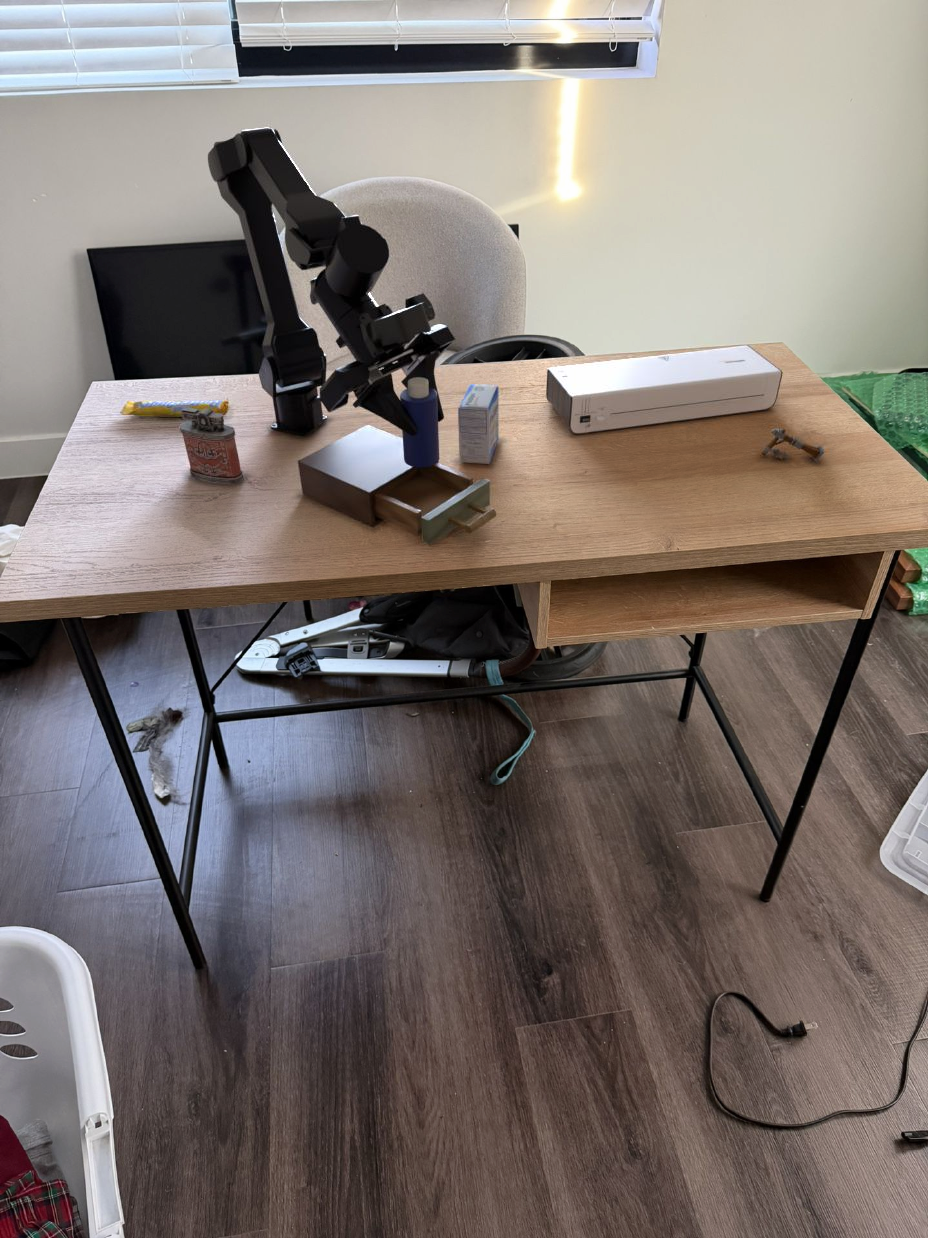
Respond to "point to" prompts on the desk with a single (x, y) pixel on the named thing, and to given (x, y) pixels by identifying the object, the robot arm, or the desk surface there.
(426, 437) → the glue bottle
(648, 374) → the laminator
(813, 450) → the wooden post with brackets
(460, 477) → the drawer
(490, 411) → the medicine box
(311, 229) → the robot arm
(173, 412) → the candy bar
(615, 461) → the desk surface
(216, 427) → the lighter
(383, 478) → the cabinet
